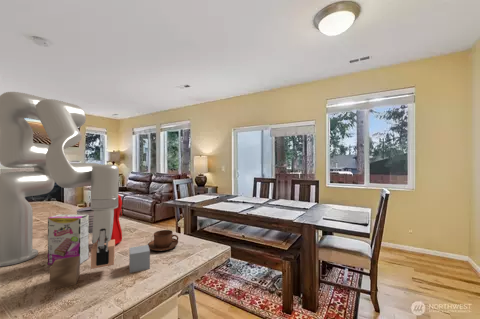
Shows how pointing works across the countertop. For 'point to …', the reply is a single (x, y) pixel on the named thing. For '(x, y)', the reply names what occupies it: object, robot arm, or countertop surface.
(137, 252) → the slate grey block
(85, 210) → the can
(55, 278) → the walnut block
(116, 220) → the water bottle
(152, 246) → the cup and saucer
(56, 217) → the candy bar box
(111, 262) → the terracotta block
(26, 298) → the countertop surface
